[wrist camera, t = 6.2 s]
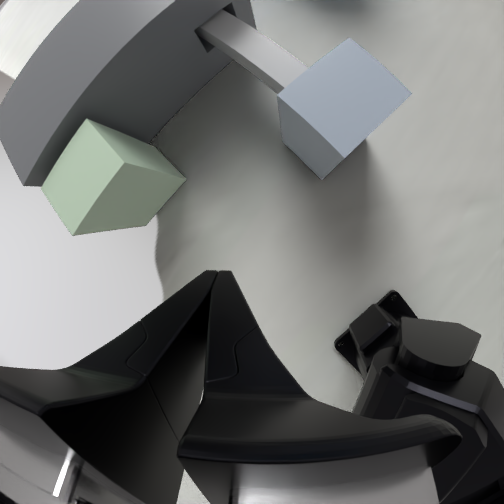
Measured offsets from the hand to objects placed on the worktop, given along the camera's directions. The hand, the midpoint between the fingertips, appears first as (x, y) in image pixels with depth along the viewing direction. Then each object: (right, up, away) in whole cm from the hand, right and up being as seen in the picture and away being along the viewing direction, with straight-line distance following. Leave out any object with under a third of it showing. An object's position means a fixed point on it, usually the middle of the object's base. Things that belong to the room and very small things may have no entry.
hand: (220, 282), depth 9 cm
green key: (-11, +10, +12) cm, 19 cm away
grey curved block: (-8, +15, +11) cm, 20 cm away
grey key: (+2, +14, +10) cm, 17 cm away
